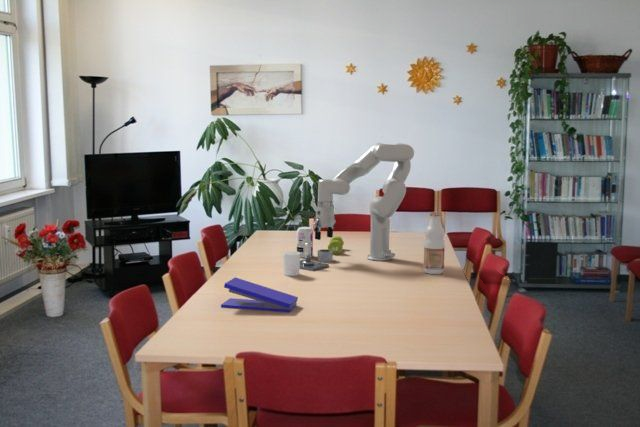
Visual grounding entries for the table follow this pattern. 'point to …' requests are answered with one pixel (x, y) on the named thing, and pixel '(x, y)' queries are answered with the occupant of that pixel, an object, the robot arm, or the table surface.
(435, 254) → the fruit juice
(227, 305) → the stapler
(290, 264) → the white cup
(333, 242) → the dumbbell
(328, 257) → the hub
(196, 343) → the table surface
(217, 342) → the table surface
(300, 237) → the supplement can
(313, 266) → the shaft stand
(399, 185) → the robot arm
